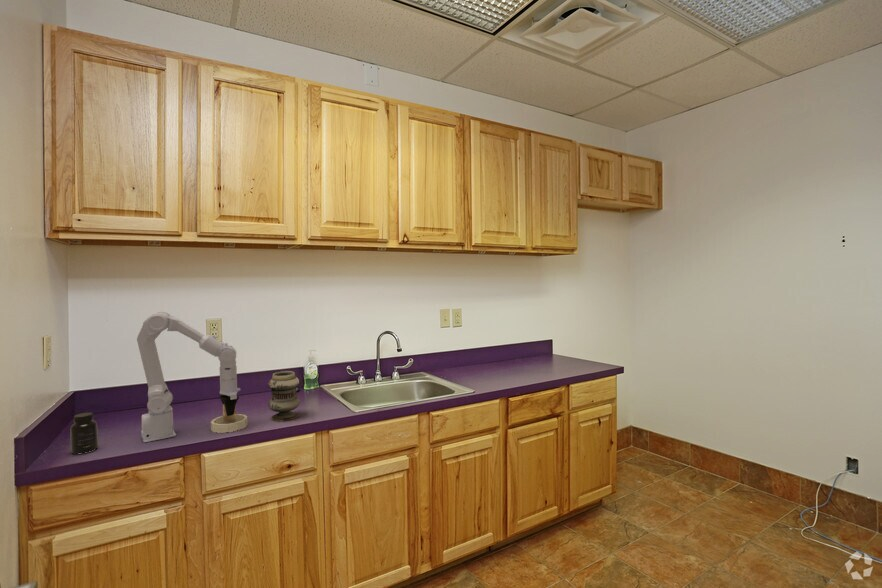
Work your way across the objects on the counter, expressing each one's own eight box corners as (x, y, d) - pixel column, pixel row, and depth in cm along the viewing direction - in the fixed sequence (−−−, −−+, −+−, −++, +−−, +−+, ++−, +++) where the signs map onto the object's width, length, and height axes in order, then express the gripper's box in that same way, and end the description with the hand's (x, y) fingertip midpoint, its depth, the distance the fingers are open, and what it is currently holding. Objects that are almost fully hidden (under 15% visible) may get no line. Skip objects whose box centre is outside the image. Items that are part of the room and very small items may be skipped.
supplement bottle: (69, 451, 139) (67, 415, 139) (95, 445, 144) (94, 410, 144) (73, 457, 134) (71, 419, 134) (100, 450, 140) (99, 414, 139)
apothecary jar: (272, 424, 163) (271, 377, 163) (265, 416, 173) (264, 372, 173) (304, 418, 170) (303, 373, 169) (296, 410, 180) (295, 368, 179)
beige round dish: (215, 435, 152) (215, 427, 152) (208, 426, 161) (208, 418, 161) (251, 427, 160) (250, 419, 160) (242, 419, 169) (242, 412, 169)
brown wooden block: (224, 426, 159) (224, 405, 158) (223, 425, 160) (222, 404, 160) (236, 424, 161) (235, 403, 161) (234, 422, 163) (234, 402, 162)
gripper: (245, 380, 157) (246, 416, 157) (234, 373, 168) (235, 407, 169) (224, 383, 152) (225, 421, 153) (215, 376, 164) (216, 411, 164)
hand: (229, 414), depth 160 cm, fingers closed on brown wooden block, 2 cm apart
